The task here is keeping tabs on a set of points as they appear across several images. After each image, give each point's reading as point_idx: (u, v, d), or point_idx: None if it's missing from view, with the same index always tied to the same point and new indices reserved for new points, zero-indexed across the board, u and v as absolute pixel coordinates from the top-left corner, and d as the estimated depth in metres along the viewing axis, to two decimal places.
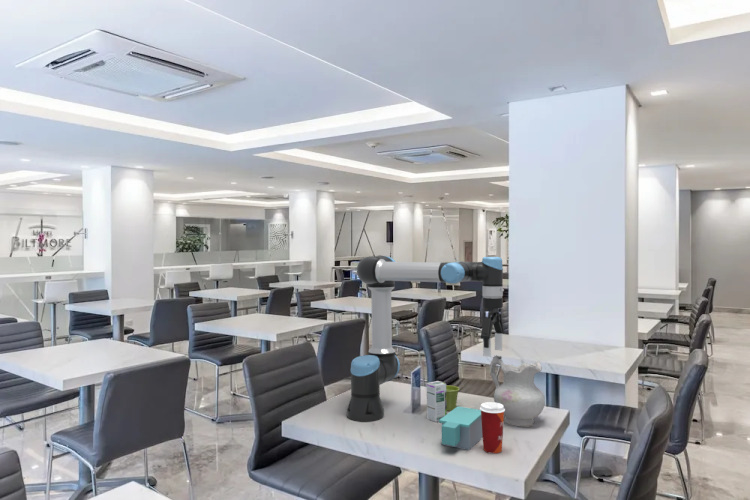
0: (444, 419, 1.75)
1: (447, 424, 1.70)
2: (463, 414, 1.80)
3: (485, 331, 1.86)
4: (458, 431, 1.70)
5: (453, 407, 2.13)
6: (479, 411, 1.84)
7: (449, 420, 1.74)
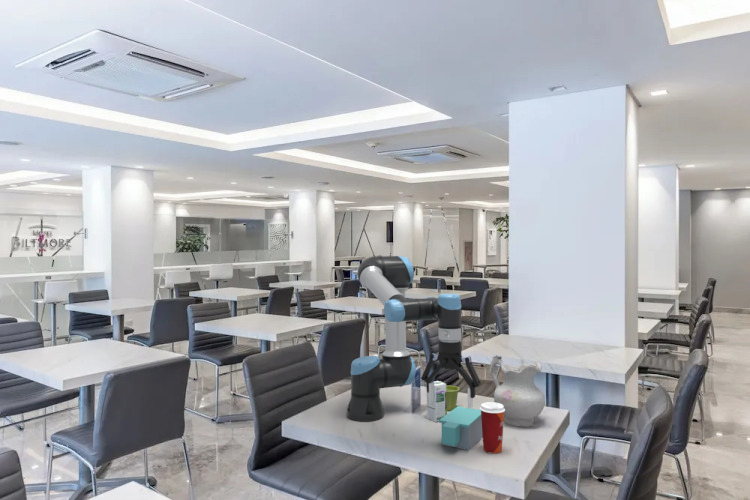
0: (444, 419, 1.75)
1: (447, 424, 1.70)
2: (463, 414, 1.80)
3: None
4: (458, 431, 1.70)
5: (453, 407, 2.13)
6: (479, 411, 1.84)
7: (449, 420, 1.74)
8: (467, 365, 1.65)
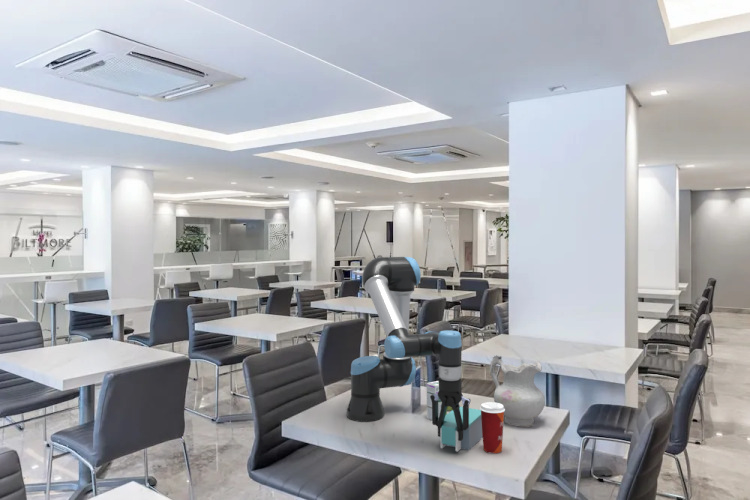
0: (444, 419, 1.75)
1: (447, 424, 1.70)
2: None
3: None
4: None
5: None
6: (479, 411, 1.84)
7: (449, 420, 1.74)
8: (464, 407, 1.65)
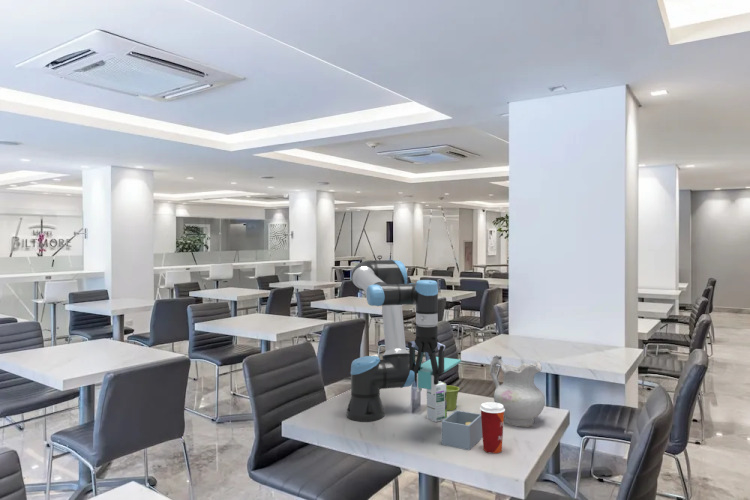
0: (421, 366, 1.82)
1: (423, 369, 1.77)
2: None
3: None
4: None
5: (453, 407, 2.13)
6: (455, 360, 1.90)
7: (426, 366, 1.81)
8: (439, 352, 1.72)
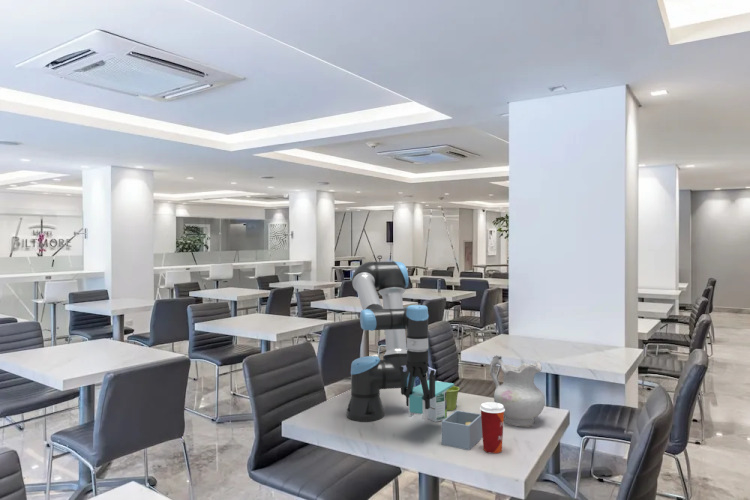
0: (413, 390, 1.83)
1: (415, 394, 1.79)
2: None
3: None
4: None
5: (453, 407, 2.13)
6: (448, 384, 1.92)
7: (417, 391, 1.82)
8: (430, 377, 1.74)
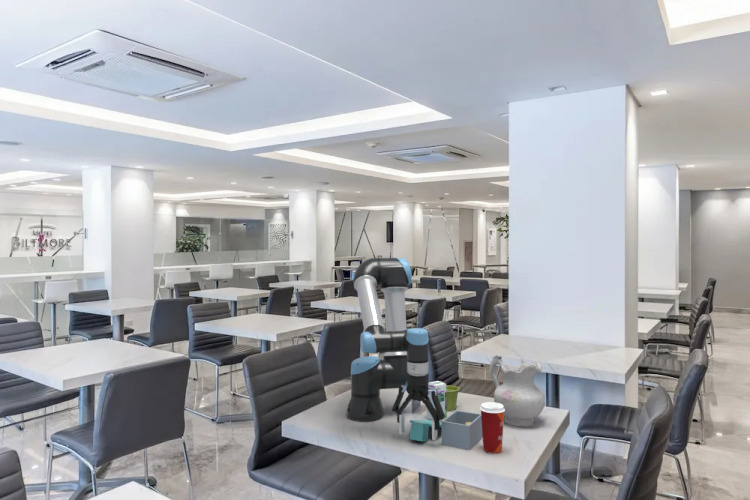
0: (415, 420, 1.85)
1: (417, 422, 1.80)
2: None
3: None
4: (427, 430, 1.79)
5: (453, 407, 2.13)
6: None
7: (419, 421, 1.84)
8: (433, 398, 1.74)
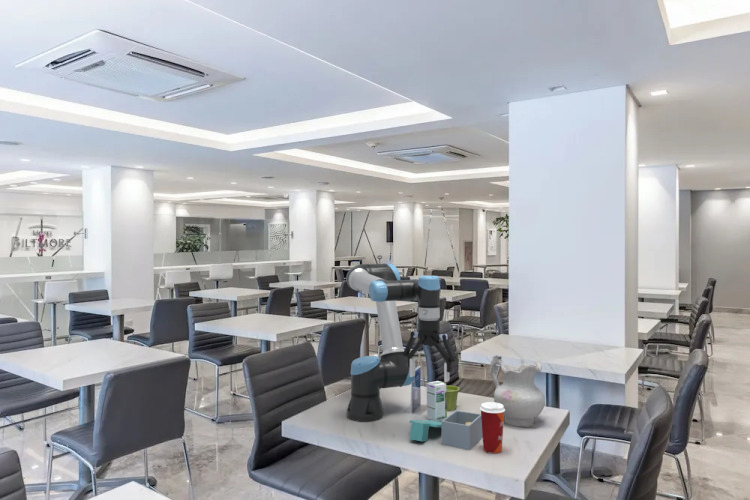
0: (415, 420, 1.85)
1: (417, 422, 1.80)
2: (433, 422, 1.90)
3: None
4: (427, 430, 1.79)
5: (453, 407, 2.13)
6: None
7: (419, 421, 1.84)
8: (444, 342, 1.77)
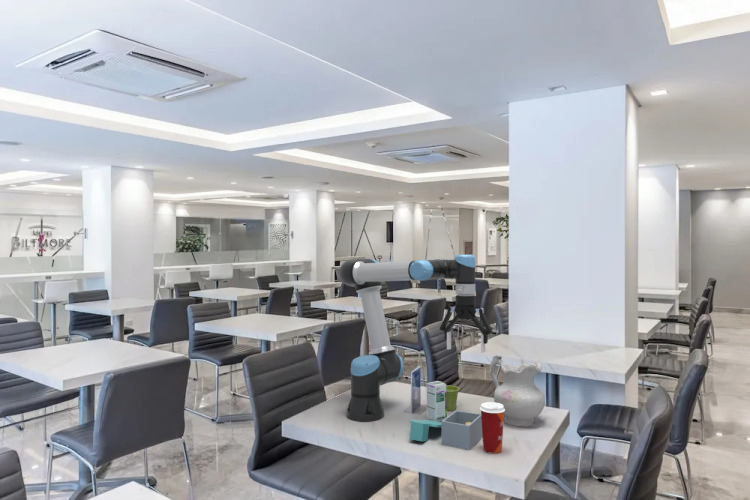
0: (415, 420, 1.85)
1: (417, 422, 1.80)
2: (433, 422, 1.90)
3: None
4: (427, 430, 1.79)
5: (453, 407, 2.13)
6: None
7: (419, 421, 1.84)
8: (481, 315, 1.90)
